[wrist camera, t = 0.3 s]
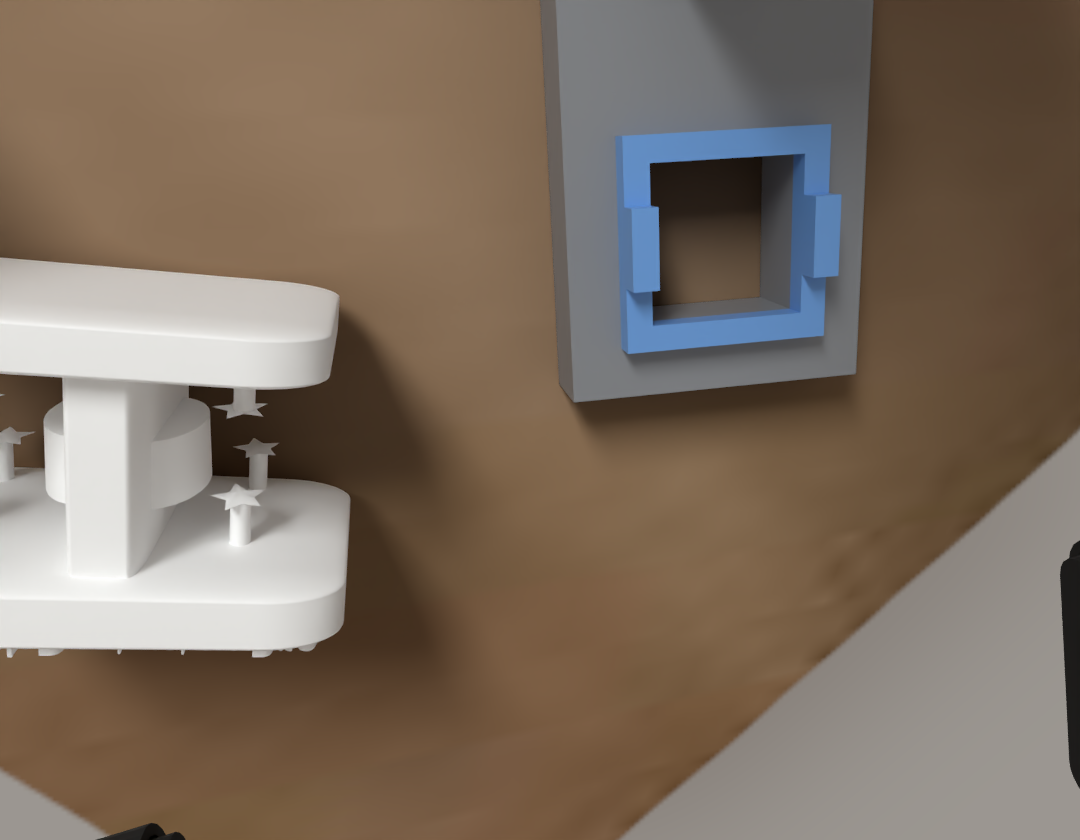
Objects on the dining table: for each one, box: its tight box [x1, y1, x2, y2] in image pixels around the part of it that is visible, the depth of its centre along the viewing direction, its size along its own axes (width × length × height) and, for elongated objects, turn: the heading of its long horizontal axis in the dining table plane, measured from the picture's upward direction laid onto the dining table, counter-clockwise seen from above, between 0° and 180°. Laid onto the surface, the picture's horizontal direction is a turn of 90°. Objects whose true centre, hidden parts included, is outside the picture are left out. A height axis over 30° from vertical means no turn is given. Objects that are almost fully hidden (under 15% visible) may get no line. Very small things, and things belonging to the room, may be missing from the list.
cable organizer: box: [0, 258, 350, 657], centre depth 31 cm, size 15×11×12 cm
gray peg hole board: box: [540, 0, 873, 402], centre depth 34 cm, size 24×12×5 cm, turn 3°
